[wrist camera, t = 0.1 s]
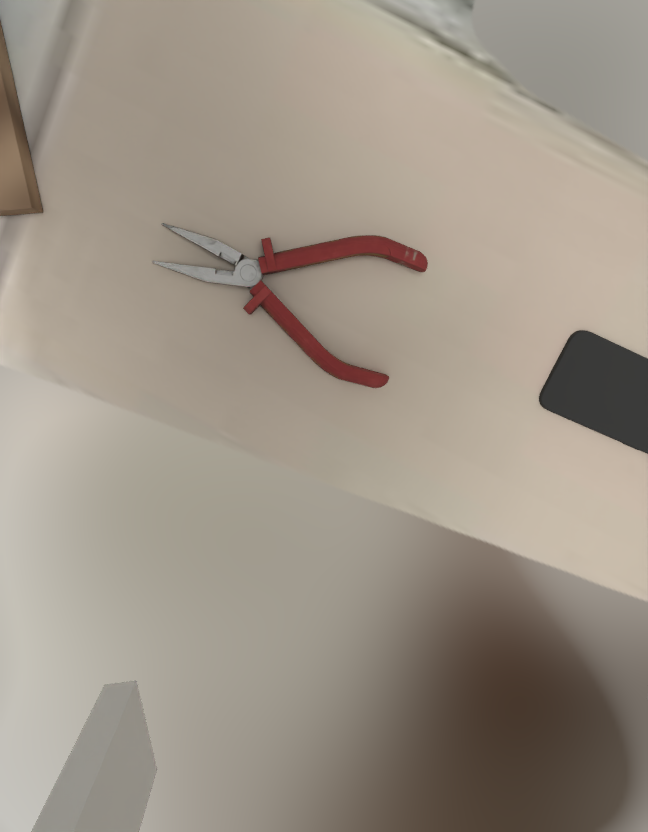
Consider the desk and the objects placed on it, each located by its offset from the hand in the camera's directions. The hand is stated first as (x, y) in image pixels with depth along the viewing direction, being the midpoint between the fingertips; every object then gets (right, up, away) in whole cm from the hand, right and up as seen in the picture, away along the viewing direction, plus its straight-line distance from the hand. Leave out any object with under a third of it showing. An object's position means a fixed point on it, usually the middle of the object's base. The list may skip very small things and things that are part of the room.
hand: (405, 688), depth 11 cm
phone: (+25, +9, +29) cm, 39 cm away
